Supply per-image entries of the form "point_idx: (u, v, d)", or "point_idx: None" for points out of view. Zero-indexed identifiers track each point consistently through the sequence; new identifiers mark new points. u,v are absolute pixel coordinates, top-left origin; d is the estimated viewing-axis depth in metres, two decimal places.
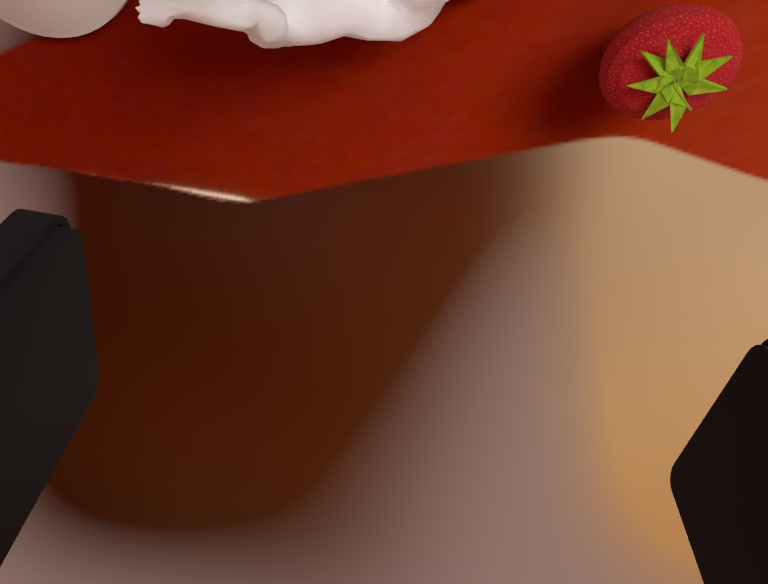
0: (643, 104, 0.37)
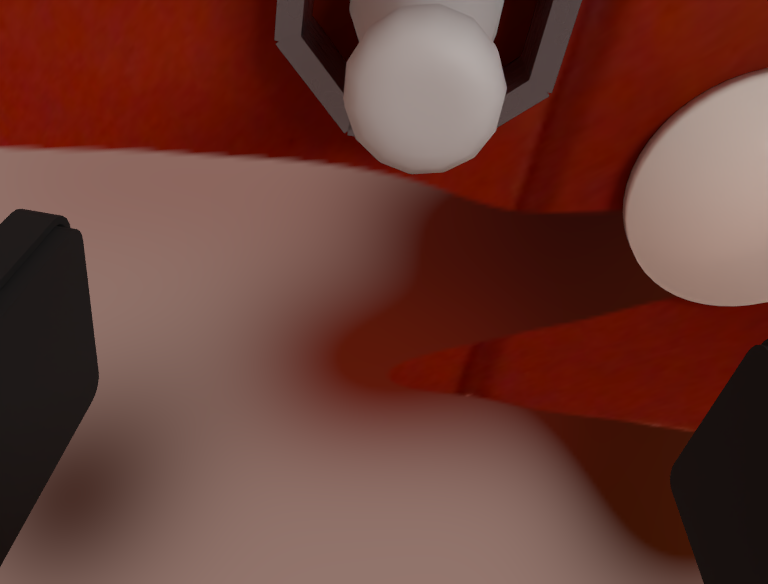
0: None
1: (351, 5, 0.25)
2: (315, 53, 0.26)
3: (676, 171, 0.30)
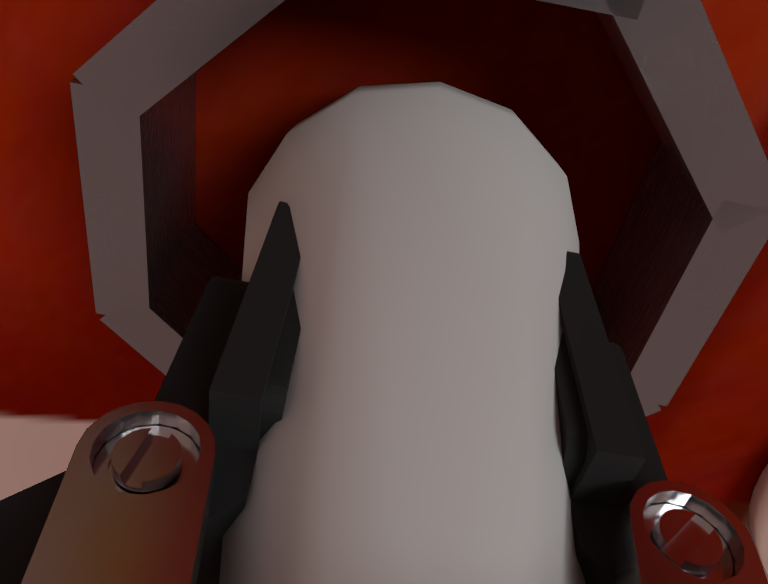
0: None
1: None
2: None
3: None
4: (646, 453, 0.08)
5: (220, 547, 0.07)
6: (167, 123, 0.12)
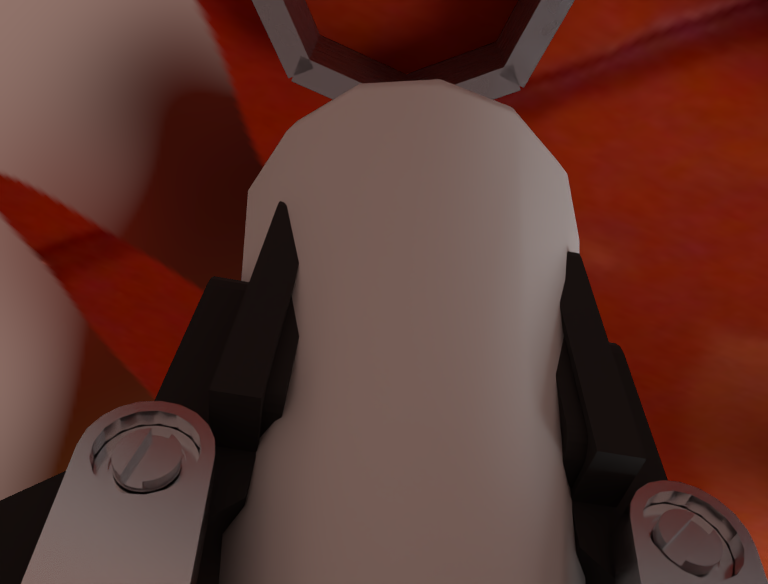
0: None
1: None
2: None
3: None
4: (646, 453, 0.08)
5: (220, 547, 0.07)
6: None
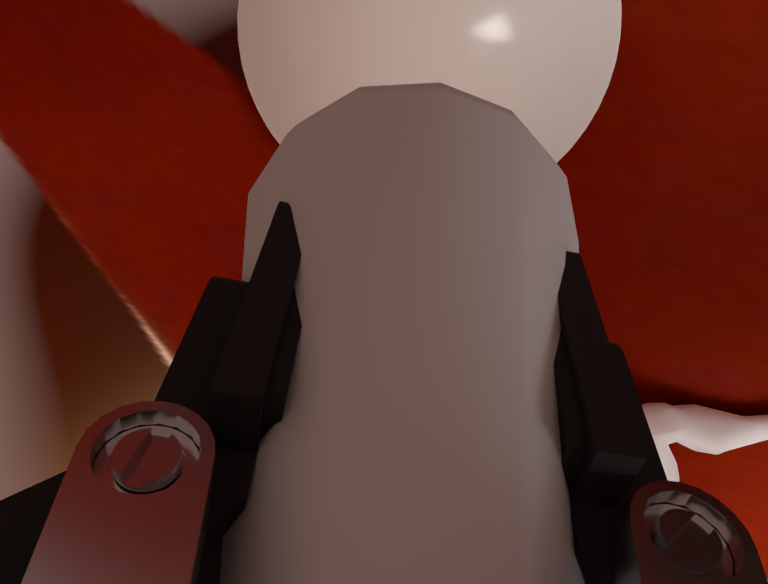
0: None
1: None
2: None
3: None
4: (646, 453, 0.08)
5: (220, 547, 0.07)
6: None
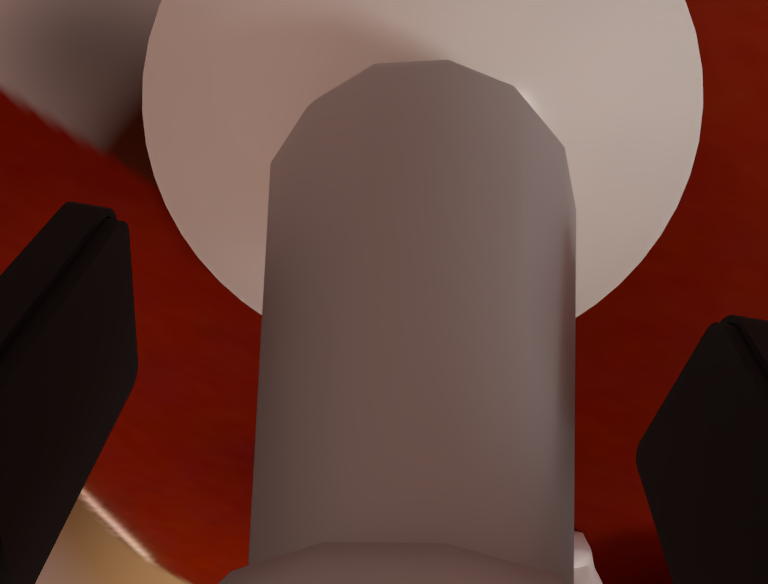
0: None
1: None
2: None
3: None
4: None
5: None
6: None
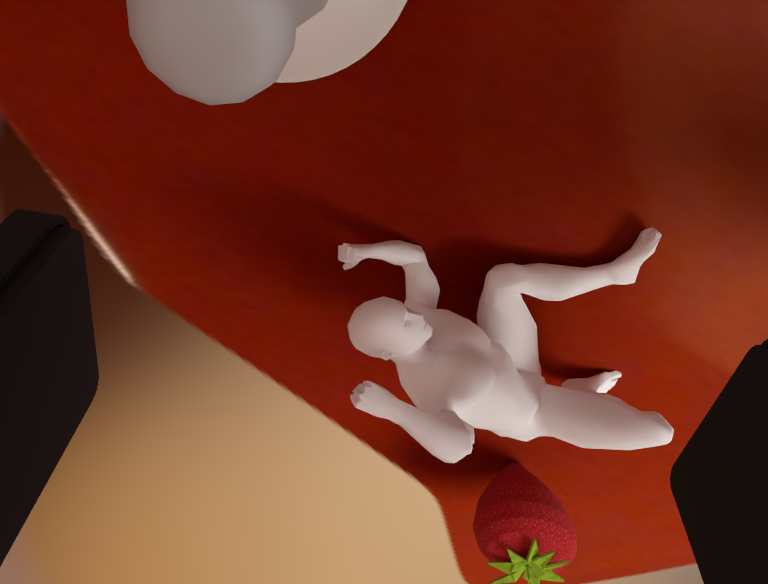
0: (496, 554, 0.43)
1: None
2: None
3: None
4: None
5: None
6: None
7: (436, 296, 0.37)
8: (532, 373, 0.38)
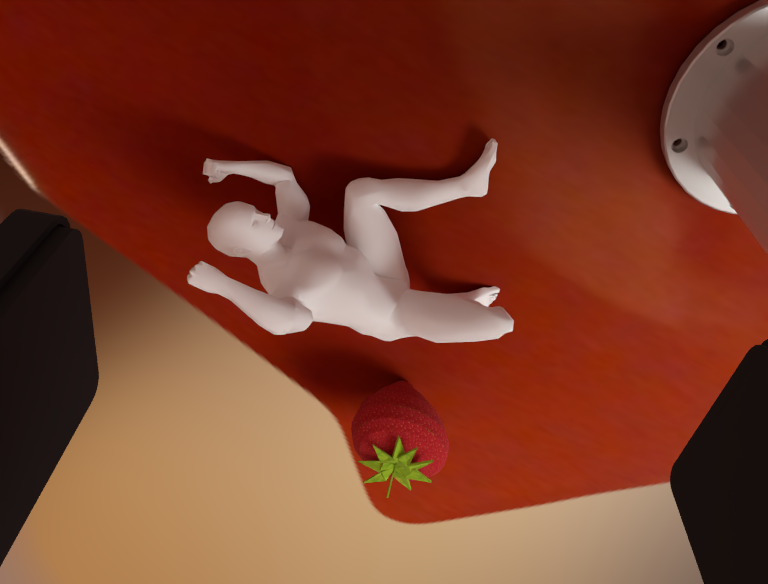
0: (367, 454, 0.46)
1: None
2: None
3: None
4: None
5: None
6: None
7: (306, 211, 0.41)
8: (396, 280, 0.41)
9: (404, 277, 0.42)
